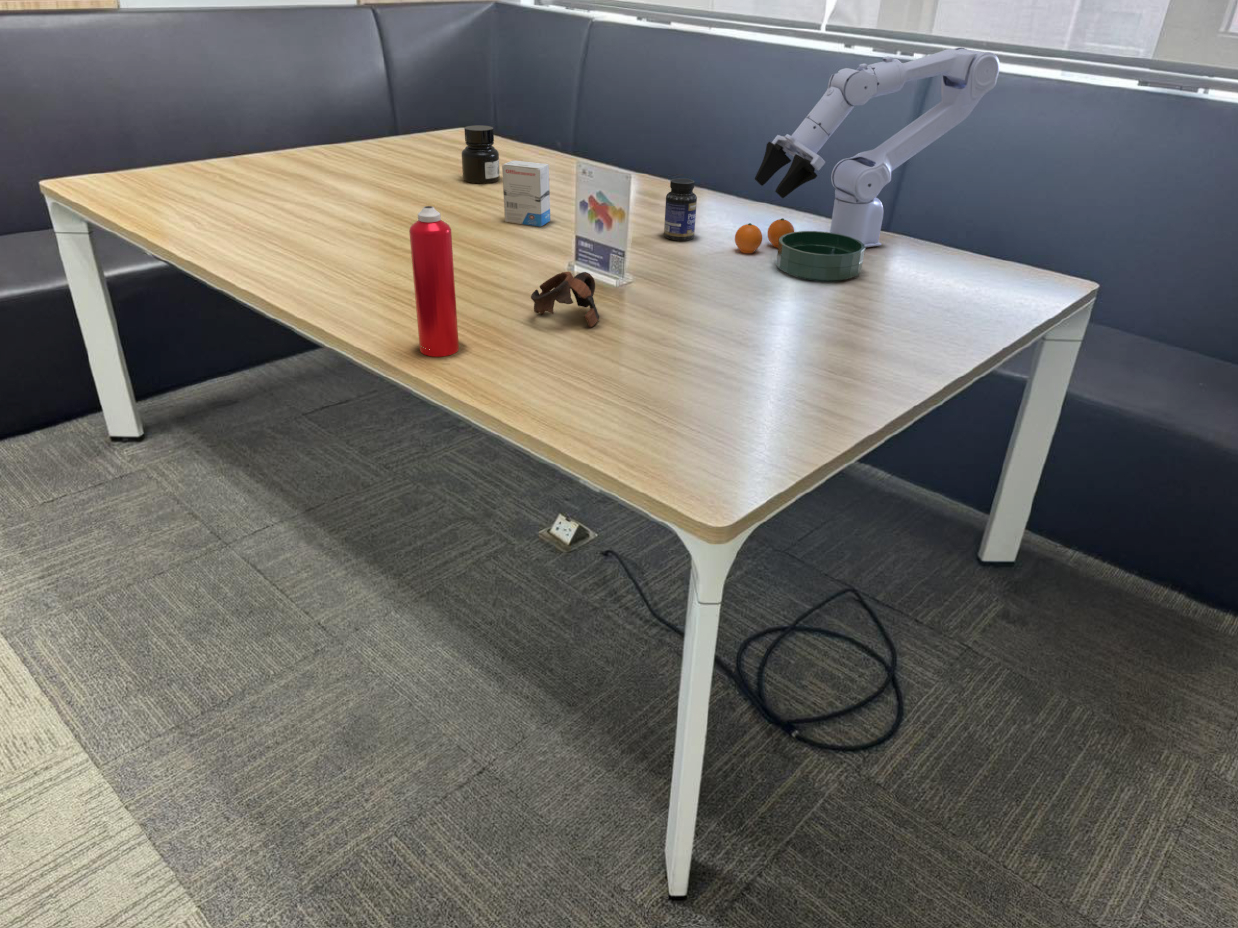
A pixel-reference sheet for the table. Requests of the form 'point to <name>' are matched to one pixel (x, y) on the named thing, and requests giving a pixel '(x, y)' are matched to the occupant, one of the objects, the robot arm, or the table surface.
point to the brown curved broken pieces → (567, 294)
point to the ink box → (526, 193)
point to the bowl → (820, 255)
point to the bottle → (434, 284)
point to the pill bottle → (680, 210)
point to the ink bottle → (480, 155)
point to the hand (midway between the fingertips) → (768, 188)
